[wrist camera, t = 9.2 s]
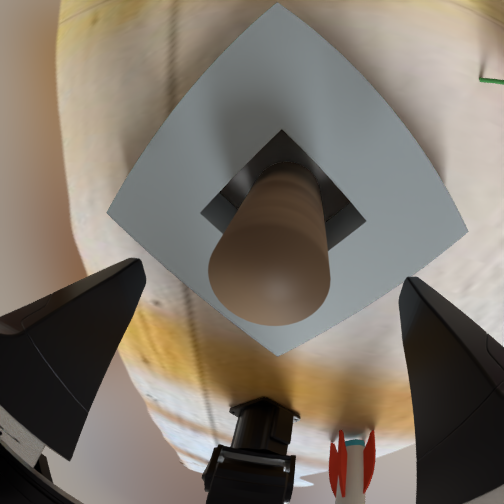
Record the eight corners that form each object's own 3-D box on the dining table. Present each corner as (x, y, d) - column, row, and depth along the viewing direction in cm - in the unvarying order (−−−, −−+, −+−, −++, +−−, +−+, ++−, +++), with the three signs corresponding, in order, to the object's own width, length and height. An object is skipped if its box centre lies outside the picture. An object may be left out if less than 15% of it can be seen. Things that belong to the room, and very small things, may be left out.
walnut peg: (286, 235, 18) (268, 340, 10) (241, 192, 17) (185, 274, 9) (333, 196, 16) (355, 286, 8) (287, 147, 15) (267, 196, 8)
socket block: (282, 323, 22) (277, 356, 19) (134, 193, 18) (106, 213, 15) (444, 207, 15) (468, 231, 12) (283, 22, 11) (277, 2, 8)
